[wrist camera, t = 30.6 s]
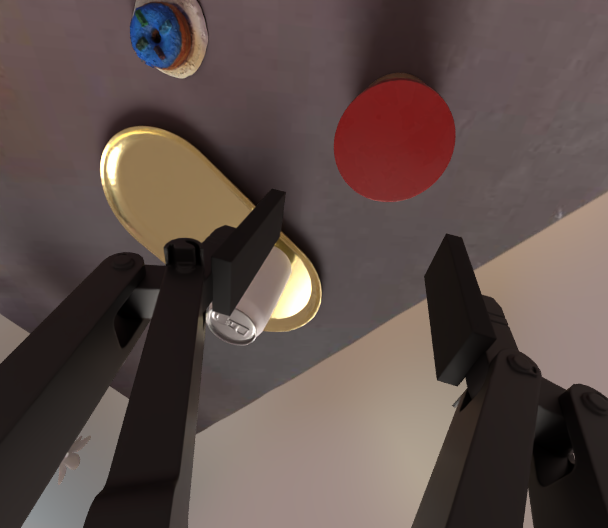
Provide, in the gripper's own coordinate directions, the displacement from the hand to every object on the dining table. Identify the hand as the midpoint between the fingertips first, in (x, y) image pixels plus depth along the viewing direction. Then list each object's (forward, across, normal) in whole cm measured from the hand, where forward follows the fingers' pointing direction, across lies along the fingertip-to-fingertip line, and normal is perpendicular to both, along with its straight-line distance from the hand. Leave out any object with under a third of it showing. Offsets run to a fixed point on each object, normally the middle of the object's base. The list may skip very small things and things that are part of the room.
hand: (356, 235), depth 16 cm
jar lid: (+9, +1, +3) cm, 9 cm away
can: (+18, -9, -17) cm, 26 cm away
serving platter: (+19, -17, -17) cm, 31 cm away
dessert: (+19, -22, +6) cm, 30 cm away
